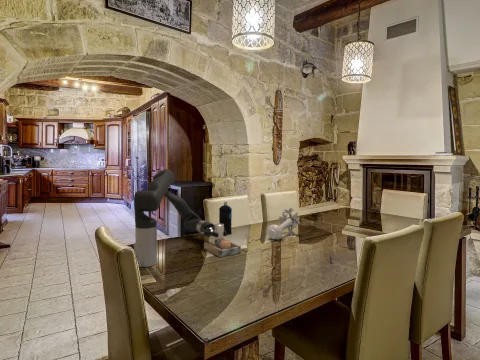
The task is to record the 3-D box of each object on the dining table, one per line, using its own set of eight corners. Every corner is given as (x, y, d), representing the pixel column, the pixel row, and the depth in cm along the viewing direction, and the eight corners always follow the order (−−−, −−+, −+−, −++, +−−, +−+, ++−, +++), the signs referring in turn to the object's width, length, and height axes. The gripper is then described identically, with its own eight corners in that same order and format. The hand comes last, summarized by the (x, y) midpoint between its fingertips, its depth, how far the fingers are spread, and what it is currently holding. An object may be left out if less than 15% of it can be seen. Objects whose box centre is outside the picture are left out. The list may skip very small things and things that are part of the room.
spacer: (224, 254, 159) (224, 243, 158) (218, 252, 163) (219, 240, 163) (232, 253, 162) (232, 241, 161) (227, 250, 166) (227, 239, 165)
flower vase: (279, 252, 186) (302, 234, 203) (280, 225, 179) (303, 208, 196) (262, 244, 194) (285, 227, 211) (262, 217, 187) (286, 202, 204)
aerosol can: (220, 235, 197) (220, 203, 195) (217, 232, 205) (217, 201, 203) (233, 234, 199) (233, 202, 197) (230, 231, 207) (230, 200, 205)
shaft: (217, 248, 164) (217, 225, 163) (212, 246, 168) (212, 224, 167) (225, 247, 167) (225, 224, 166) (220, 245, 171) (220, 223, 170)
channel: (219, 257, 155) (219, 250, 155) (204, 248, 168) (204, 242, 168) (240, 253, 162) (240, 246, 162) (223, 245, 175) (224, 239, 175)
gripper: (194, 223, 174) (209, 229, 160) (216, 220, 182) (233, 226, 169) (194, 236, 175) (209, 244, 161) (216, 233, 183) (233, 240, 169)
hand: (221, 234), depth 165 cm, fingers closed on shaft, 4 cm apart
